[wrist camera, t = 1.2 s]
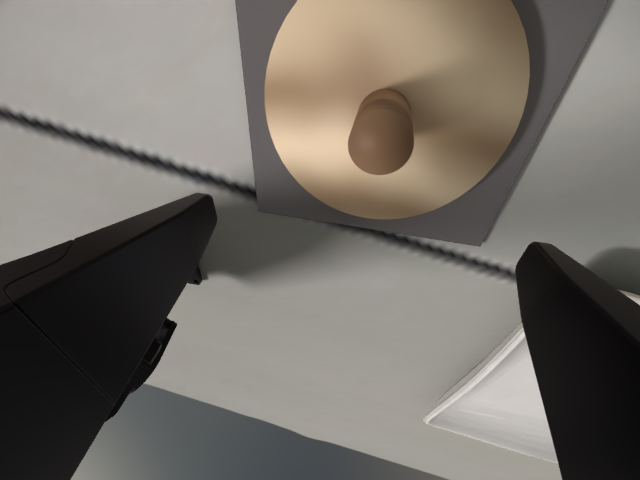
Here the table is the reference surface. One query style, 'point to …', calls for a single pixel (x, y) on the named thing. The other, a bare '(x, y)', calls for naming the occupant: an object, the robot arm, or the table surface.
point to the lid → (395, 99)
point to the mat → (474, 205)
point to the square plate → (501, 401)
